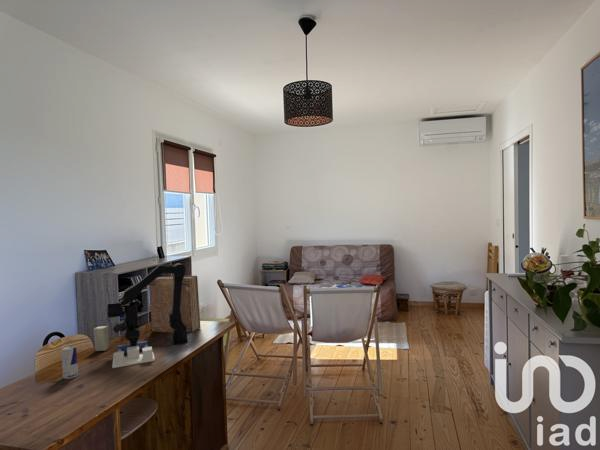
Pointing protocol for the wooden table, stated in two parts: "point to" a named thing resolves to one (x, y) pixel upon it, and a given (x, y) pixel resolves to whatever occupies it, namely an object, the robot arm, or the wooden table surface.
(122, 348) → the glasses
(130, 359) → the display stand
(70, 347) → the energy drink
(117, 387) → the wooden table surface
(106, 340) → the box
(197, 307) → the book
